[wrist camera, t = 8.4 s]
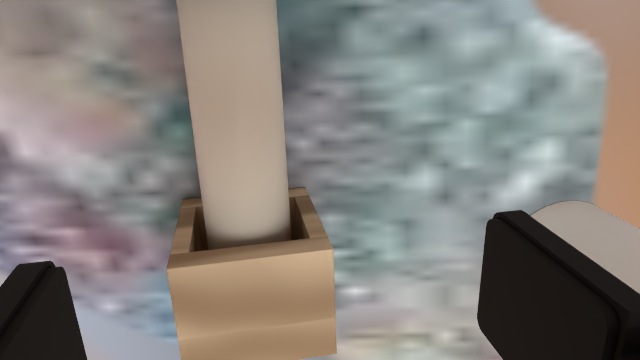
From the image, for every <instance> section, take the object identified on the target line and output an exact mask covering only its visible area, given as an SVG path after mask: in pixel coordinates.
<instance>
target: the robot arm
mask: <svg viewBox="0 0 640 360" xmlns="http://www.w3.org/2000/svg"><path fill="white" fill-rule="evenodd" d="M477 319H478V324H479V327H480V329H481V331H482V333H483V334H484V335H485V336H486V338H487V339H488V340H489V342H490V343H491V344H492V346H493V347H494V348H495V349H496V351H497V352H498V353H499V355H500V356H501V357H502V359H503V360H640V294H639V293H638V292H637V291H635V290H634V289H632V288H631V287H629V286H628V285H627V284H625V283H624V282H622V281H621V280H620V279H618V278H617V277H615V276H614V275H613V274H611V273H610V272H608V271H607V270H606V269H604V268H603V267H601V266H600V265H599V264H597V263H596V262H594V261H593V260H591V259H590V258H589V257H587V256H586V255H584V254H583V253H582V252H580V251H579V250H577V249H576V248H575V247H573V246H572V245H570V244H569V243H568V242H566V241H565V240H563V239H562V238H560V237H559V236H558V235H556V234H555V233H553V232H552V231H551V230H549V229H548V228H546V227H545V226H544V225H542V224H541V223H539V222H538V221H537V220H535V219H534V218H532V217H531V216H530V215H528V214H527V213H525V212H524V211H522V210H517V211H508V212H498V213H496V214H495V215H494V217H493V219H490V220H489V221H488V222H487V226H486V234H485V244H484V254H483V264H482V273H481V283H480V293H479V303H478V313H477ZM0 360H87V357H86V353H85V349H84V345H83V341H82V337H81V333H80V329H79V325H78V321H77V317H76V313H75V309H74V304H73V300H72V296H71V292H70V288H69V284H68V280H67V276H66V273H65V270H64V269H63V267H55V265H54V263H53V262H51V261H44V262H35V263H26V264H19V265H18V266H17V267H16V268H15V269H14V270H13V271H12V273H11V274H10V275H9V276H8V278H7V279H6V280H5V282H4V283H3V284H2V285H1V287H0Z"/></svg>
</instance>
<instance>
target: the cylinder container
mask: <svg viewBox="0 0 640 360" xmlns="http://www.w3.org/2000/svg"><path fill="white" fill-rule="evenodd" d="M531 217H532V218H534V219H535V220H537V221H538V222H539V223H541V224H542V225H544V226H545V227H546V228H548V229H549V230H551V231H552V232H553V233H555V234H556V235H558V236H559V237H560V238H562V239H563V240H565V241H566V242H568V243H569V244H570V245H572V246H573V247H575V248H576V249H577V250H579V251H580V252H582V253H583V254H584V255H586V256H587V257H589V258H590V259H591V260H593V261H594V262H596V263H597V264H599V265H600V266H601V267H603V268H604V269H606V270H607V271H608V272H610V273H611V274H613V275H614V276H615V277H617V278H618V279H620V280H621V281H622V282H624V283H625V284H627V285H628V286H629V287H631V288H632V289H634V290H635V291H637V292H638V293H639V294H640V228H637V227H636V226H634V225H632V224H630V223H628V222H626V221H624V220H622V219H620V218H618V217H616V216H614V215H613V214H611V213H609V212H607V211H605V210H603V209H601V208H599V207H597V206H595V205H593V204H591V203H587V202H583V201H564V202H559V203H555V204H552V205H549V206H547V207H544V208H542V209H540V210H539V211H537V212H535V213H534V214H532V215H531Z"/></svg>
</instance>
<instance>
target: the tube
mask: <svg viewBox="0 0 640 360" xmlns="http://www.w3.org/2000/svg"><path fill="white" fill-rule="evenodd" d="M176 3H177V11H178V19H179V27H180V34H181V42H182V50H183V58H184V65H185V73H186V81H187V89H188V97H189V104H190V112H191V120H192V128H193V135H194V143H195V151H196V159H197V166H198V174H199V182H200V190H201V198H202V205H203V213H204V221H205V229H206V236H207V244H208V250H214V249H223V248H231V247H240V246H249V245H257V244H266V243H274V242H283V241H291V240H292V239H291V224H290V208H289V192H288V177H287V161H286V145H285V130H284V114H283V98H282V83H281V67H280V51H279V36H278V20H277V4H276V0H176Z"/></svg>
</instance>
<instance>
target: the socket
mask: <svg viewBox="0 0 640 360" xmlns="http://www.w3.org/2000/svg"><path fill="white" fill-rule="evenodd" d="M288 192H289V208H290V224H291V239H292V240H291V241H283V242H274V243H266V244H257V245H249V246H240V247H231V248H223V249H214V250H208V244H207V236H206V229H205V221H204V213H203V205H202V198H194V199H184V200H183V201H182V205H181V210H180V214H179V218H178V223H177V227H176V231H175V235H174V240H173V244H172V248H171V253H170V257H169V261H168V265H167V275H168V281H169V287H170V293H171V299H172V306H173V312H174V318H175V324H176V330H177V336H178V342H179V349H180V355H181V360H298V359H305V358H311V357H317V356H324V355H330V354H336V353H337V349H336V318H335V287H334V256H333V247H332V245H331V243H330V241H329V239H328V237H327V234H326V232H325V230H324V228H323V226H322V223H321V221H320V219H319V217H318V215H317V212H316V210H315V208H314V206H313V204H312V202H311V199H310V197H309V195H308V193H307V191H306V188H295V189H288Z"/></svg>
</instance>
